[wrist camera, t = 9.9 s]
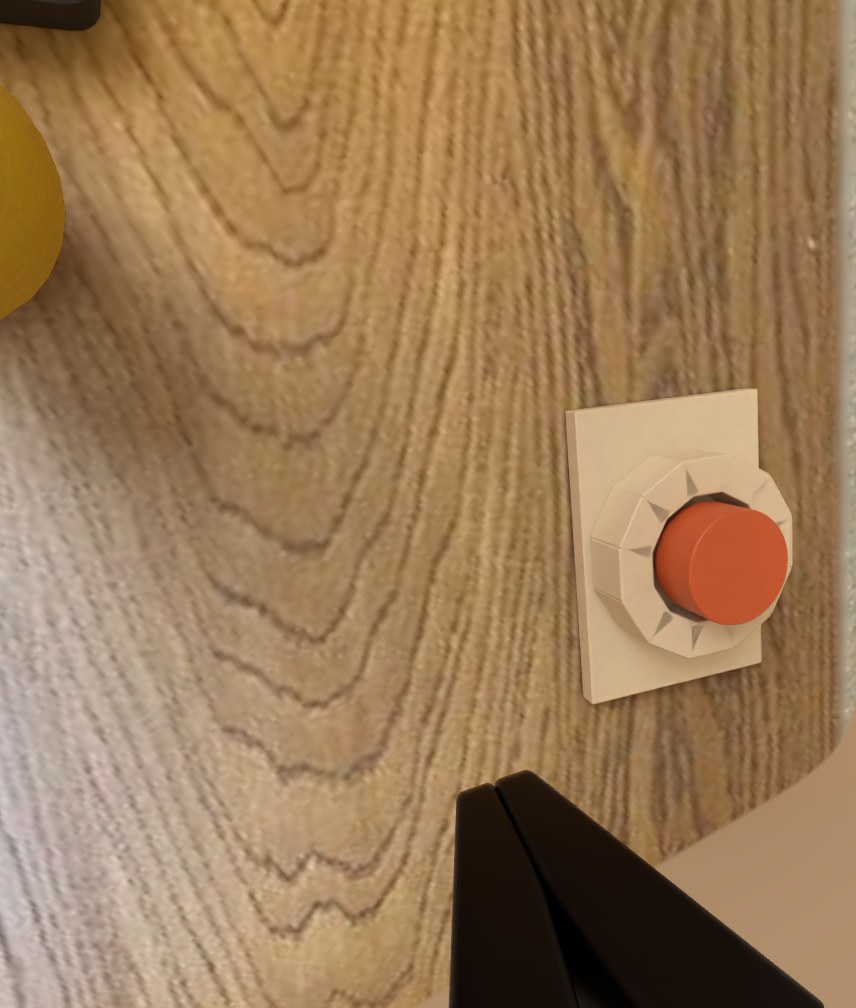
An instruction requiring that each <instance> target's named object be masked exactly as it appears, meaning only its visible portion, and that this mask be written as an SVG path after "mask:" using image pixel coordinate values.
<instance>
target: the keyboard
mask: <svg viewBox="0 0 856 1008" xmlns="http://www.w3.org/2000/svg"><path fill="white" fill-rule="evenodd" d="M100 2H101V0H0V22H1V23H10V24H20V25H29V26H38V27H47V28H56V29H65V30H85V29H87V28H89V27H91V26H92V25H94V24H95V23H96V21H97V19H98V17H99V15H100Z"/></svg>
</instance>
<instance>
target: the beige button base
mask: <svg viewBox="0 0 856 1008" xmlns="http://www.w3.org/2000/svg"><path fill="white" fill-rule="evenodd" d="M565 414H566V430H567V446H568V462H569V478H570V493H571V509H572V525H573V541H574V557H575V573H576V588H577V604H578V620H579V636H580V652H581V667H582V683H583V696H584V698H585V699H587V700H588V701H589V702H590V703H592V704H597V703H601V702H605V701H609V700H613V699H617V698H621V697H625V696H629V695H633V694H637V693H641V692H645V691H649V690H653V689H657V688H661V687H665V686H669V685H673V684H677V683H681V682H685V681H689V680H693V679H697V678H701V677H705V676H709V675H713V674H717V673H721V672H725V671H729V670H733V669H737V668H741V667H745V666H749V665H753V664H757V663H761V661H762V659H761V624H762V623H763V622H764V621H765V620H766V619H767V618H769V617H770V615H771V613H772V612H773V610H774V608H775V605H776V603H777V601H778V599H779V596H780V594H781V592H782V589H783V587H784V585H785V583H786V580H787V578H788V576H789V573H790V571H791V566H792V514H791V512H790V510H789V509H788V507H787V505H786V503H785V501H784V499H783V497H782V496H781V494H780V492H779V490H778V488H777V486H776V484H775V483H774V481H773V479H772V477H771V476H770V474H768V473H767V472H765V471H763V470H761V469H759V459H758V393H757V389H736V390H728V391H721V392H713V393H705V394H697V395H689V396H681V397H673V398H665V399H657V400H649V401H641V402H633V403H625V404H617V405H609V406H601V407H593V408H585V409H577V410H569V411H566V413H565ZM703 501H716V502H721V503H725V504H730V505H734V506H739V507H743V508H748V509H752V510H757V511H759V512H762V513H764V514H765V515H767V516H768V517H770V518H771V519H772V520H773V521H774V522H775V523H776V524H777V525H778V527H779V528H780V530H781V532H782V534H783V536H784V538H785V542H786V545H787V551H788V566H787V573H786V577H785V580H784V583H783V586H782V588H781V590H780V592H779V594H778V596H777V597H776V599H775V600H774V602H773V603H772V604H771V605H770V606H769V607H768V608H767V610H766V611H764V612H763V613H762V614H761V615H759V616H758V617H756V618H755V619H753V620H751V621H749V622H746V623H743V624H738V625H722V624H718V623H715V622H713V621H711V620H708V619H706V618H704V617H702V616H699V615H697V614H695V613H693V612H691V611H688V610H686V609H684V608H682V607H680V606H678V605H676V604H675V603H673V602H672V601H671V600H670V599H669V598H668V597H667V596H666V594H665V593H664V592H663V590H662V588H661V586H660V584H659V581H658V578H657V574H656V565H655V564H656V551H657V547H658V543H659V541H660V538H661V536H662V534H663V532H664V530H665V528H666V527H667V525H668V524H669V522H670V521H671V520H672V519H673V518H674V517H675V516H676V515H677V514H678V513H679V512H681V511H682V510H683V509H685V508H687V507H688V506H690V505H693V504H695V503H699V502H703Z"/></svg>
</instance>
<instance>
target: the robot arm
mask: <svg viewBox="0 0 856 1008" xmlns="http://www.w3.org/2000/svg"><path fill="white" fill-rule="evenodd" d="M449 1008H824V1005H823V1003H822V1002H821V1001H820V1000H819V999H818V998H816V997H815V996H814V995H813V994H811V993H810V992H809V991H808V990H806V989H805V988H804V987H803V986H801V985H800V984H799V983H798V982H796V981H795V980H794V979H793V978H791V977H790V976H789V975H788V974H786V973H785V972H784V971H783V970H781V969H780V968H779V967H778V966H776V965H775V964H774V963H773V962H771V961H770V960H769V959H767V958H766V957H765V956H764V955H762V954H761V953H760V952H759V951H757V950H756V949H755V948H753V947H752V946H751V945H750V944H749V943H747V942H746V941H745V940H744V939H742V938H741V937H740V936H739V935H737V934H736V933H735V932H733V931H732V930H731V929H730V928H729V927H727V926H726V925H725V924H723V923H722V922H721V921H720V920H718V919H717V918H716V917H715V916H713V915H712V914H711V913H710V912H708V911H707V910H706V909H705V908H703V907H702V906H701V905H700V904H698V903H697V902H696V901H694V900H693V899H692V898H691V897H689V896H688V895H687V894H686V893H685V892H683V891H682V890H681V889H679V888H678V887H677V886H676V885H674V884H673V883H672V882H671V881H669V880H668V879H667V878H665V877H664V876H663V875H662V874H661V873H659V872H658V871H657V870H656V869H654V868H653V867H652V866H651V865H649V864H648V863H647V862H646V861H644V860H643V859H642V858H641V857H639V856H638V855H637V854H635V853H634V852H633V851H632V850H630V849H629V848H628V847H627V846H625V845H624V844H623V843H622V842H620V841H619V840H618V839H617V838H615V837H614V836H613V835H612V834H610V833H609V832H608V831H607V830H605V829H604V828H603V827H602V826H600V825H599V824H598V823H597V822H595V821H594V820H593V819H591V818H590V817H589V816H588V815H586V814H585V813H584V812H583V811H581V810H580V809H579V808H578V807H576V806H575V805H574V804H573V803H571V802H570V801H569V800H568V799H566V798H565V797H564V796H563V795H561V794H560V793H559V792H558V791H556V790H555V789H554V788H553V787H551V786H550V785H549V784H547V783H546V782H545V781H544V780H542V779H541V778H540V777H539V776H537V775H536V774H535V773H533V772H531V771H528V770H524V771H520V772H517V773H514V774H512V775H509V776H506V777H503V778H500V779H498V780H497V781H496V783H495V787H494V786H493V785H492V784H490V783H485V784H482V785H480V786H477V787H474V788H471V789H468V790H465V791H462V792H460V793H459V794H458V796H457V801H456V826H455V854H454V881H453V909H452V936H451V963H450V990H449Z"/></svg>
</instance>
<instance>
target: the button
mask: <svg viewBox="0 0 856 1008" xmlns="http://www.w3.org/2000/svg"><path fill="white" fill-rule="evenodd" d="M655 565H656V574H657V578H658V581H659V584H660V586H661V588H662V590H663V592H664V593H665V594H666V596H667V597H668V598H669V599H670V600H671V601H672V602H673V603H675V604H676V605H678V606H680V607H682V608H684V609H686V610H688V611H691V612H693V613H695V614H697V615H699V616H702V617H704V618H706V619H708V620H711V621H713V622H715V623H718V624H722V625H738V624H743V623H746V622H749V621H751V620H753V619H755V618H756V617H758V616H759V615H761V614H762V613H763V612H764V611H766V610H767V608H768V607H769V606H770V605H771V604H772V603H773V602H774V600H775V599H776V597H777V596H778V594H779V592H780V590H781V588H782V586H783V583H784V580H785V577H786V573H787V566H788V551H787V545H786V542H785V538H784V536H783V534H782V532H781V530H780V528H779V527H778V525H777V524H776V523H775V522H774V521H773V520H772V519H771V518H770V517H768V516H767V515H765V514H764V513H762V512H759V511H757V510H752V509H748V508H743V507H739V506H734V505H730V504H725V503H721V502H716V501H703V502H699V503H695V504H693V505H690V506H688V507H687V508H685V509H683V510H682V511H681V512H679V513H678V514H677V515H676V516H675V517H674V518H673V519H672V520H671V521H670V522H669V524H668V525H667V527H666V528H665V530H664V532H663V534H662V536H661V538H660V541H659V543H658V547H657V551H656V564H655Z"/></svg>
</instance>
